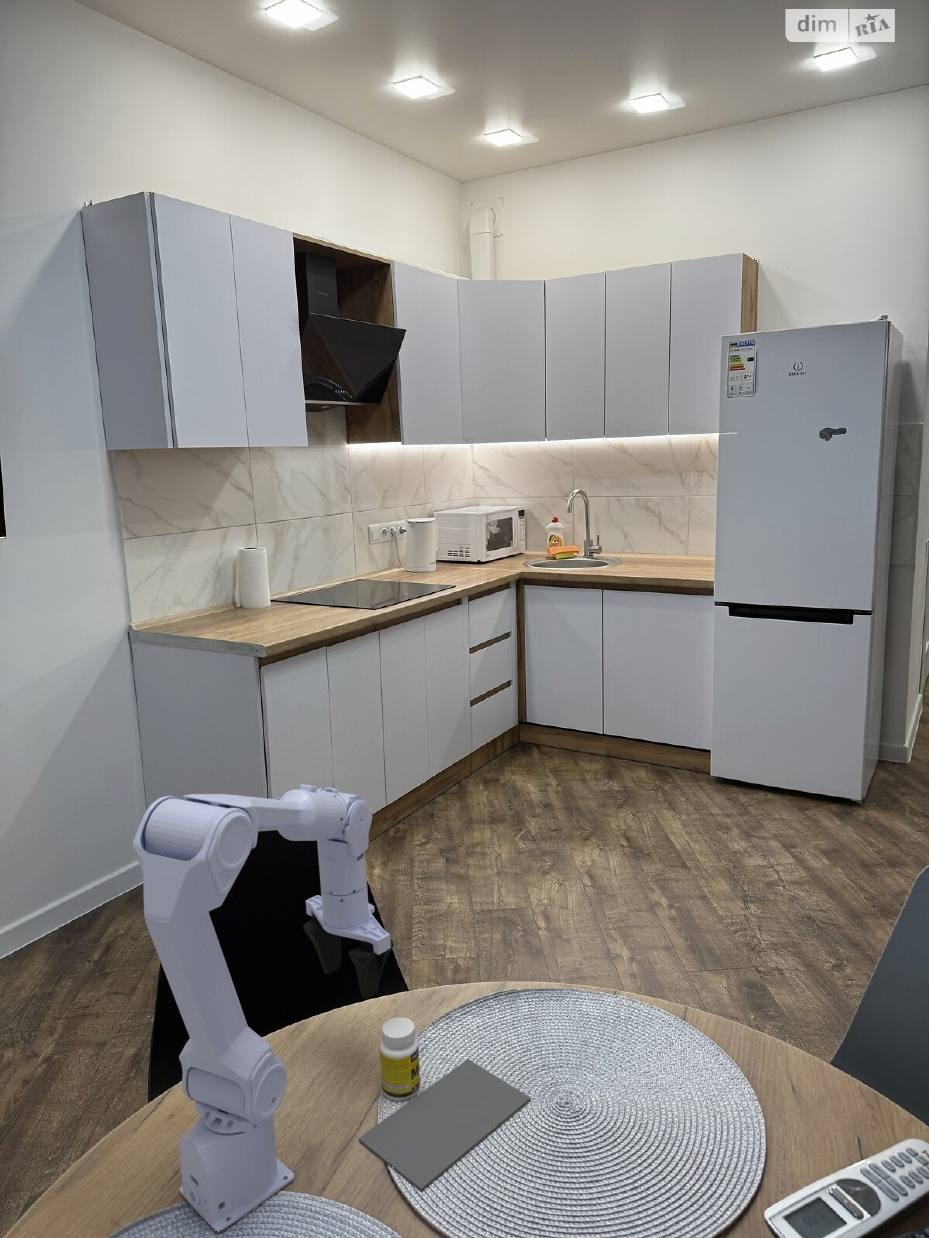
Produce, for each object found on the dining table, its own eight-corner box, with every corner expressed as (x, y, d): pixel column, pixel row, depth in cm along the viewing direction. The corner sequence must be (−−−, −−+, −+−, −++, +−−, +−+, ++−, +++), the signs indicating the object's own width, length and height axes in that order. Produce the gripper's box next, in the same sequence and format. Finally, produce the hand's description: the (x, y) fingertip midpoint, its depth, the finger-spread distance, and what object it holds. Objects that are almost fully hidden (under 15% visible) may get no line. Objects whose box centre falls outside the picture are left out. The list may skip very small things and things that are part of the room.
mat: (421, 1191, 94) (421, 1188, 94) (358, 1141, 101) (358, 1138, 101) (530, 1100, 106) (530, 1097, 106) (468, 1061, 114) (468, 1058, 114)
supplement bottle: (418, 1102, 107) (416, 1039, 105) (379, 1102, 107) (376, 1040, 105) (421, 1074, 111) (418, 1014, 110) (384, 1075, 112) (380, 1014, 110)
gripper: (406, 890, 108) (412, 990, 111) (333, 855, 118) (340, 947, 121) (362, 914, 104) (369, 1017, 106) (289, 875, 113) (297, 970, 116)
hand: (350, 982), depth 113 cm, fingers open, 7 cm apart
